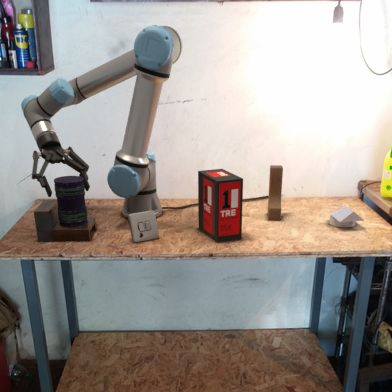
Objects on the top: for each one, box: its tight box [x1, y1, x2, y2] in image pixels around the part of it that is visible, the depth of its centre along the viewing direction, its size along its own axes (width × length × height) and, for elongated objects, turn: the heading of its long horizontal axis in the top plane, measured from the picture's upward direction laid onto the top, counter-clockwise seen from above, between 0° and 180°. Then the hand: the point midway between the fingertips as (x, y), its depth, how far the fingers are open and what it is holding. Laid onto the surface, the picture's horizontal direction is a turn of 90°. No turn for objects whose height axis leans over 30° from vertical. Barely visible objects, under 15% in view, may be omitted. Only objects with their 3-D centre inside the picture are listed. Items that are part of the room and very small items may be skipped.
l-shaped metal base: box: [33, 199, 97, 242], centre depth 196 cm, size 18×14×10 cm
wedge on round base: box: [329, 204, 365, 228], centre depth 203 cm, size 9×7×13 cm
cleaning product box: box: [197, 168, 244, 244], centre depth 193 cm, size 16×9×20 cm, turn 22°
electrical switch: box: [127, 210, 160, 243], centre depth 192 cm, size 9×5×9 cm, turn 121°
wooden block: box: [267, 164, 284, 221], centre depth 211 cm, size 9×4×18 cm, turn 176°
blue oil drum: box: [53, 175, 88, 228], centre depth 193 cm, size 10×10×15 cm
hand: (69, 191), depth 192 cm, fingers open, 13 cm apart
